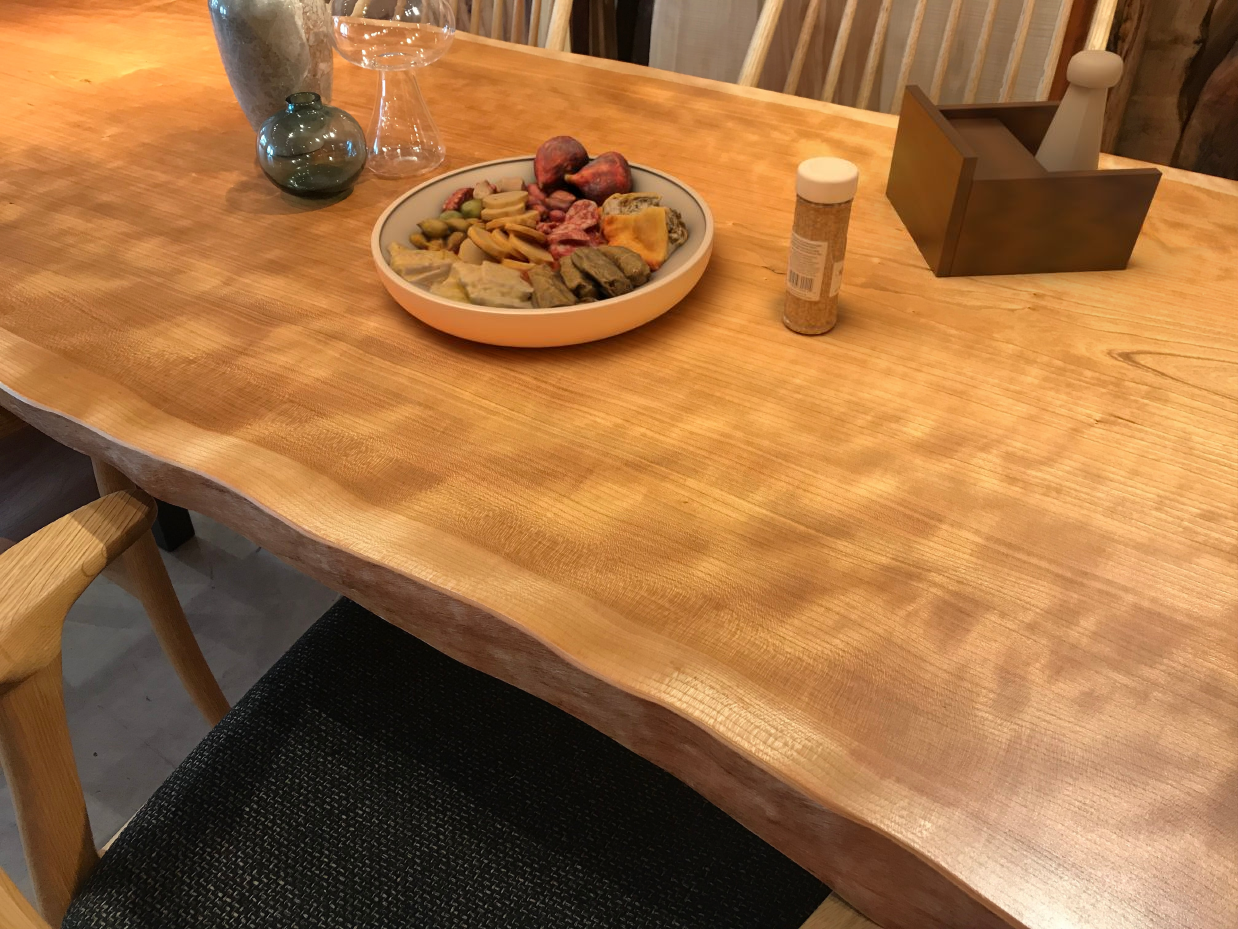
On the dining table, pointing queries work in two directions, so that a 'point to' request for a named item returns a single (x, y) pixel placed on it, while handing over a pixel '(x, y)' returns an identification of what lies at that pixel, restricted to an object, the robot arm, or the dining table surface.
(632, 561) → the dining table surface
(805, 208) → the sprinkles bottle
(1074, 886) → the dining table surface
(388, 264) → the bowl
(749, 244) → the dining table surface
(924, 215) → the box
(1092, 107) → the salt shaker
